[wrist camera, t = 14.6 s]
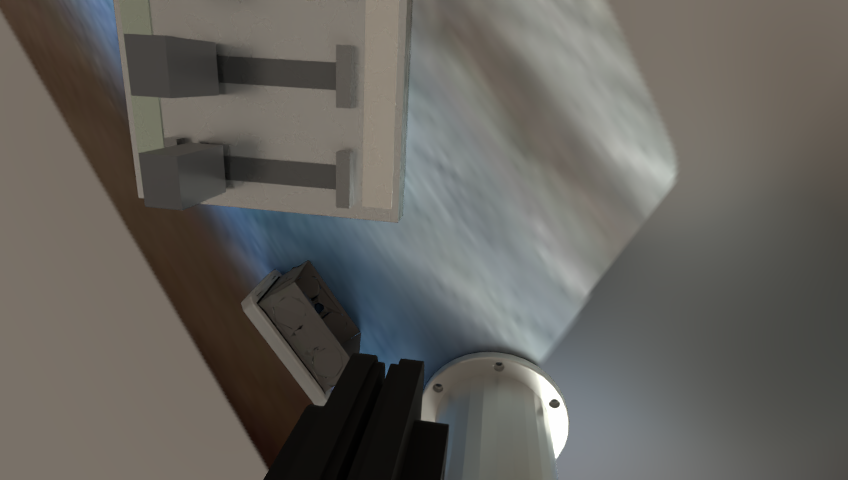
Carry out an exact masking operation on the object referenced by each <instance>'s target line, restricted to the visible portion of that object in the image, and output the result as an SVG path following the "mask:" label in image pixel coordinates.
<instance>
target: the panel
mask: <svg viewBox="0 0 848 480" xmlns="http://www.w3.org/2000/svg"><path fill="white" fill-rule="evenodd" d="M113 2H114V10H115V17H116V25H117V33H118V41H119V49H120V56H121V64H122V72H123V80H124V88H125V95H126V103H127V111H128V119H129V127H130V134H131V142H132V150H133V158H134V166H135V173H136V181H137V189H138V197H139V198H144V194H143V186H142V178H141V170H140V162H139V154H138V153H141V152H146V151H151V150H156V149H161V148H165V147H170V146H175V145H180V144H185V143H201V144H214V145H223V155H224V169H225V183H226V192H225V193H223V194H220V195H218V196H216V197H213V198H211V199H208V200H206V201H203V202H201V203H199V204H209V205H219V206H229V207H240V208H250V209H261V210H271V211H281V212H292V213H302V214H313V215H323V216H334V217H344V218H354V219H365V220H375V221H386V222H396V223H398V222H399V220H400V219H401V218H402V216H403V200H404V178H405V155H406V133H407V110H408V88H409V65H410V43H411V20H412V0H113ZM124 34H141V35H160V36H170V37H178V38H186V39H194V40H201V41H209V42H216V56H217V70H218V84H219V95H217V96H200V97H183V98H160V97H146V96H132V95H131V89H130V81H129V73H128V65H127V57H126V49H125V41H124Z"/></svg>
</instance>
